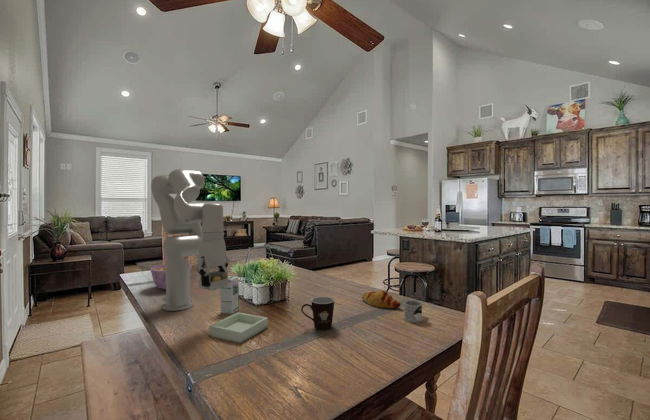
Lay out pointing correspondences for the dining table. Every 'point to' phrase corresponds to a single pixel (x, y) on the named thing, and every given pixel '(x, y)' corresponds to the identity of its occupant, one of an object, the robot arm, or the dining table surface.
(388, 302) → the croissant
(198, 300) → the dining table surface
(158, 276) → the bowl of food
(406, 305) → the mug
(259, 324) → the tray
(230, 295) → the syrup box
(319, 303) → the coffee mug
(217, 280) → the ball
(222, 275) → the open shelf cabinet
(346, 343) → the dining table surface
